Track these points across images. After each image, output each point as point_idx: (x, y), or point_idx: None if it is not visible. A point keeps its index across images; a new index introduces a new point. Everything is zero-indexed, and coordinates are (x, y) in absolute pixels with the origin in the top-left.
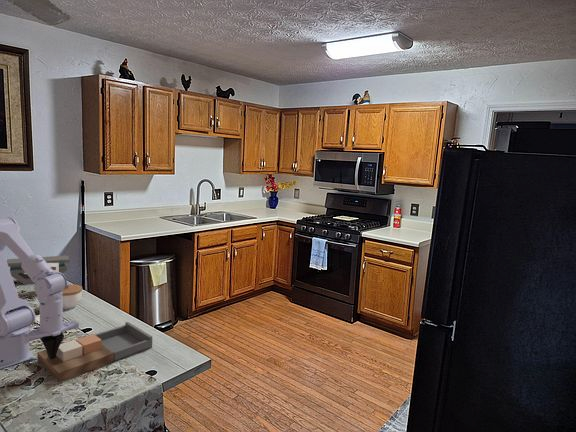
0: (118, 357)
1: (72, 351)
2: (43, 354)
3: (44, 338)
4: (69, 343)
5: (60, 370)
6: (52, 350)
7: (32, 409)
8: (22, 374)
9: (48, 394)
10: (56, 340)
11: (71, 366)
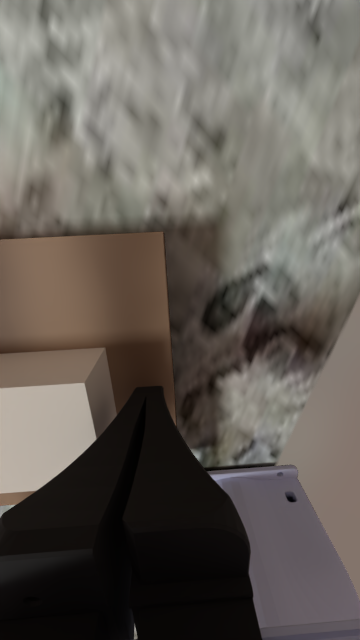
0: None
1: (26, 377)
2: None
3: (231, 603)
4: (22, 470)
5: (147, 257)
6: (151, 423)
7: (355, 49)
8: (251, 395)
9: (240, 151)
10: (100, 508)
11: (78, 260)
